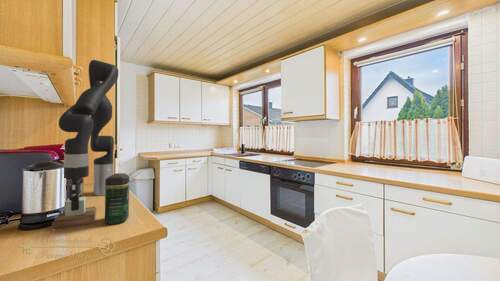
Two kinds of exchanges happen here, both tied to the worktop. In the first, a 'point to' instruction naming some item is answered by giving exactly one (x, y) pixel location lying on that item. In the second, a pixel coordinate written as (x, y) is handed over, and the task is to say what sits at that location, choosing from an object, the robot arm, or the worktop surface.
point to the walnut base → (75, 219)
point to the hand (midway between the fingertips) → (76, 207)
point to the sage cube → (77, 212)
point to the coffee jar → (116, 198)
